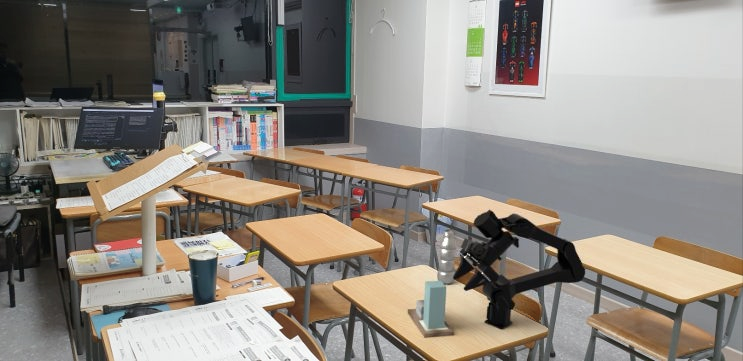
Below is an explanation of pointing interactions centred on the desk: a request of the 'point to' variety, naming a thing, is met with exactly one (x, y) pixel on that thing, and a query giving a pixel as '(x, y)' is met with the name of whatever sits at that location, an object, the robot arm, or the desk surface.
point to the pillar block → (434, 304)
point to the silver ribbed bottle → (447, 257)
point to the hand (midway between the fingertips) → (459, 284)
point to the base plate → (418, 320)
